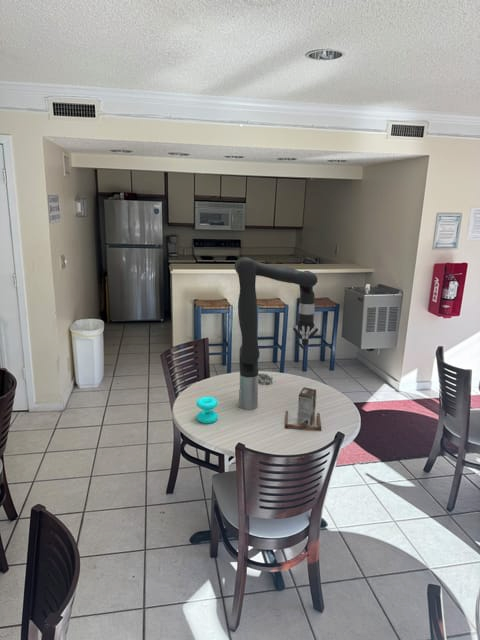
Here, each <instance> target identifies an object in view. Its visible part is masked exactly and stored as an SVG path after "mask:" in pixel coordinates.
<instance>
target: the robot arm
mask: <svg viewBox="0 0 480 640" xmlns="http://www.w3.org/2000/svg"><path fill="white" fill-rule="evenodd" d="M234 270H235V272H236V274H237V277H238V281H239V294H238V302H237V312H238V315H237V316H238V323H239V328H240V334H241V345H240V348H239V390H238V408H239V409H243V410H249V411H251V410H255V409H257V408H258V403H259V402H258V400H259V380H258V374H259V363H258V362H259V358H260V355H261V354H260V349H259V342H258V324H259V323H258V318H259V317H258V299H257V291H256V289H257V288H256V280H257V277H264V278H266V279H271V280H274V281H278V282H283V283H286V284H287V283H288V284H295V285H298V286H299V294H300V296H299V304H298V305H299V306H298V318H297V319H298V321H297V324H296V325H295V326H292V330H293V331H294V333H295V334H296V335H297V337H298V338H300V339H301V345H302V346H303V347H307V346H308V343H309V342H308V341H309V339H312V338H313V337H314V336H315V334H316V333H317V332H319V328H318V327H316V326H315V322H314V321H315V298H316V297H315V292H314V290H313V288H314V286H316V285H317V283H318V276H317V274H315V273H314V272H311V271H310V270H303V271H302V270H298V269H295V268H292V267H286V266H280V265H274V264H273V265H272V264H269V263H263V262H261V261H257V260H254V259H251V258H250V257H247V256H242V257H240V258H238V259H237V260H236V261H235V263H234ZM311 331H312V332H311ZM300 332H301V333H300Z"/></svg>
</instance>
